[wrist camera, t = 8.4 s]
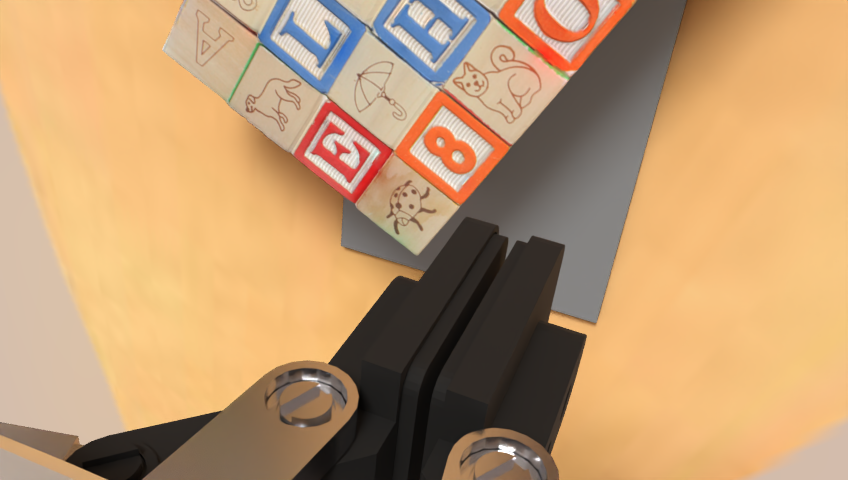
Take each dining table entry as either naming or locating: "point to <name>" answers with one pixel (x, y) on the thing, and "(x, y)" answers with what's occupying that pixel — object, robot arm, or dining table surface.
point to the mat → (567, 164)
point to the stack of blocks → (392, 87)
